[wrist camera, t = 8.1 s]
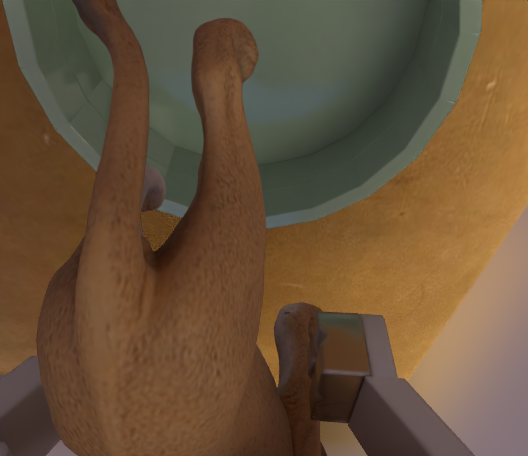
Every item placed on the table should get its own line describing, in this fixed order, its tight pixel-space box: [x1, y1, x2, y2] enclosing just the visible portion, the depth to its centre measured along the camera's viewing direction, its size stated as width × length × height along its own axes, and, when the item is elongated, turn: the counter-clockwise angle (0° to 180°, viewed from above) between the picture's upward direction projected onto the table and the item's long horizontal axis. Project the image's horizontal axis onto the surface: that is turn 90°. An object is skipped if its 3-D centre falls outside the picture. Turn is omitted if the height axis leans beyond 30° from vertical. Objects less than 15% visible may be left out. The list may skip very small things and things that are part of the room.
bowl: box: [2, 0, 482, 229], centre depth 21 cm, size 18×18×6 cm
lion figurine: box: [36, 0, 327, 456], centre depth 9 cm, size 15×5×9 cm, turn 22°
